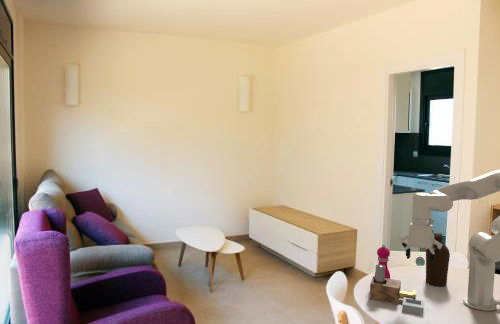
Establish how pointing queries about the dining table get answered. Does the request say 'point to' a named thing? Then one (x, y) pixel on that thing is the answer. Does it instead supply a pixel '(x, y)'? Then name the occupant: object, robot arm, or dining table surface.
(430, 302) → the dining table surface
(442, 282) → the olive oil
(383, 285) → the socket block
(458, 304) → the dining table surface
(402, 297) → the tan wooden t-shaped piece
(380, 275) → the grey cylinder
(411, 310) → the grey square tray
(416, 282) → the dining table surface
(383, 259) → the pepper mill
